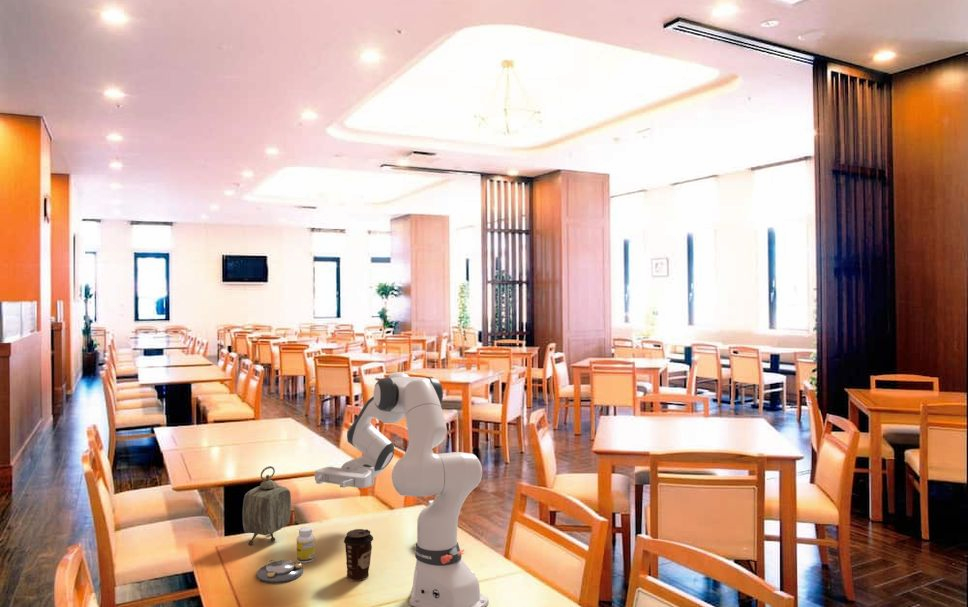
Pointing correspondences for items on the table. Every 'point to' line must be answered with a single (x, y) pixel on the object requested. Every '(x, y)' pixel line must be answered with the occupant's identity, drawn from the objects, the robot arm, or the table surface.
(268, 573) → the stand
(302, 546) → the supplement bottle
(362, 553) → the coffee cup
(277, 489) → the tabletop clock
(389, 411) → the robot arm
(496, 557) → the table surface
